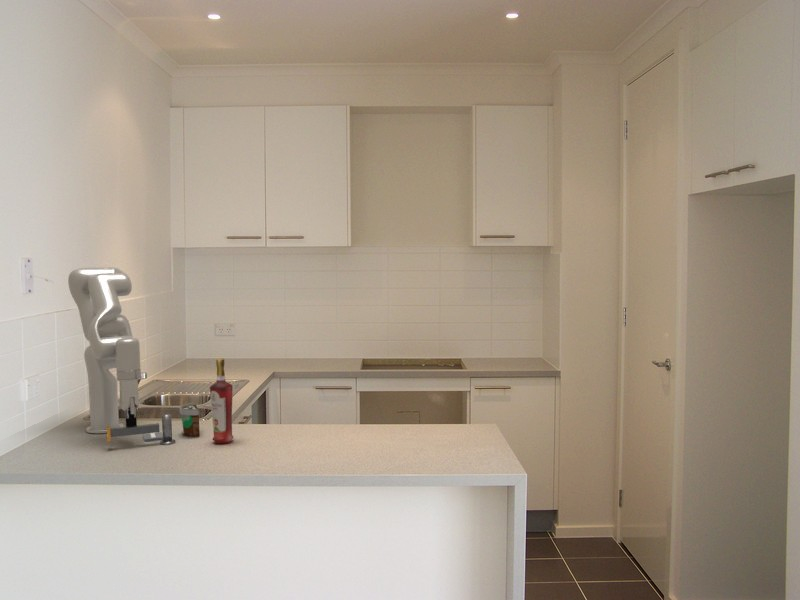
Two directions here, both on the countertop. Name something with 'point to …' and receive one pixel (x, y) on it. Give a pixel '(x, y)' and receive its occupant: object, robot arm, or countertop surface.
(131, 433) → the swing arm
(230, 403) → the liquor
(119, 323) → the robot arm
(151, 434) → the label tile
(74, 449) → the countertop surface
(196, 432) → the food container
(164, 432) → the pivot post
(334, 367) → the countertop surface
